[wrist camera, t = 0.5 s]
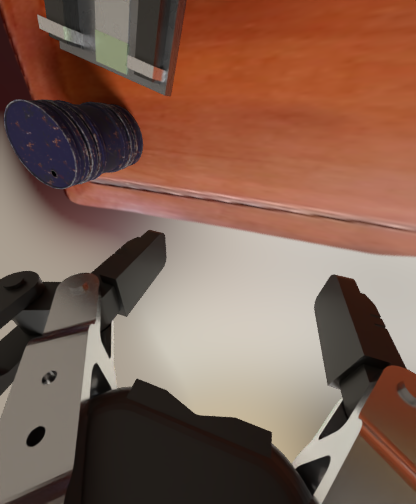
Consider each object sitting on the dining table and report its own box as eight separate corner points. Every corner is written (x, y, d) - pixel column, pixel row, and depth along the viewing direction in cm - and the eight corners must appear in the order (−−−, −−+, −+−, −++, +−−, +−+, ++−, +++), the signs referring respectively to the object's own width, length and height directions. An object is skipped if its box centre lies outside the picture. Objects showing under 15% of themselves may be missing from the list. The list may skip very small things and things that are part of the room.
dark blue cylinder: (85, 107, 34) (-14, 105, 23) (132, 98, 31) (45, 89, 20) (108, 168, 40) (37, 191, 28) (150, 164, 37) (90, 189, 25)
